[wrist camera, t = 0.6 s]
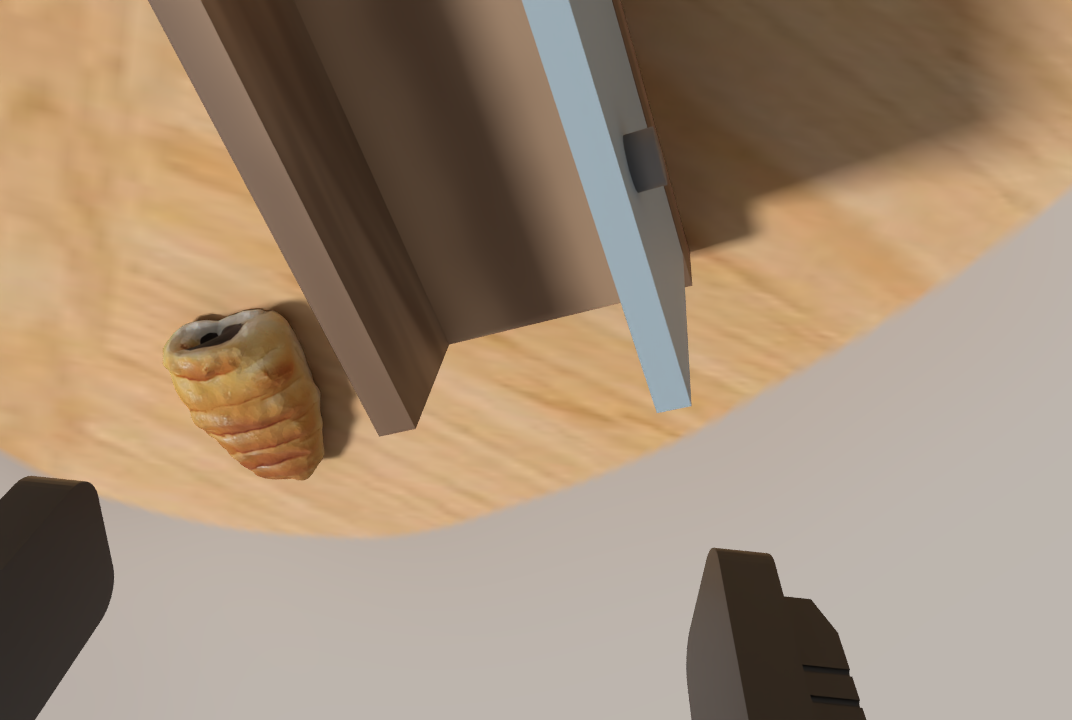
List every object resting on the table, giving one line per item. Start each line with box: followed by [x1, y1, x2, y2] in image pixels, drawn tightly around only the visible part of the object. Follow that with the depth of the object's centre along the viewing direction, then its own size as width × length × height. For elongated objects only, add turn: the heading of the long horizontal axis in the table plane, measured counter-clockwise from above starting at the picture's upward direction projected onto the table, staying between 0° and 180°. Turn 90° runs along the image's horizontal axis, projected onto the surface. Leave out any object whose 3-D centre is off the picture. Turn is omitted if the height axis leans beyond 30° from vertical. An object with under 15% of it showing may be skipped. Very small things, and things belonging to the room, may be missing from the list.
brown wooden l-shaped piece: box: [148, 0, 692, 437], centre depth 30 cm, size 12×16×9 cm
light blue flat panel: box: [522, 0, 691, 413], centre depth 25 cm, size 2×13×10 cm, turn 19°
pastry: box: [163, 309, 324, 480], centre depth 42 cm, size 9×7×4 cm
